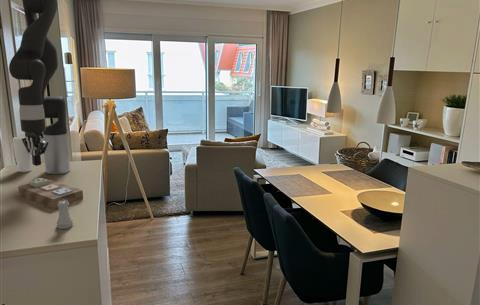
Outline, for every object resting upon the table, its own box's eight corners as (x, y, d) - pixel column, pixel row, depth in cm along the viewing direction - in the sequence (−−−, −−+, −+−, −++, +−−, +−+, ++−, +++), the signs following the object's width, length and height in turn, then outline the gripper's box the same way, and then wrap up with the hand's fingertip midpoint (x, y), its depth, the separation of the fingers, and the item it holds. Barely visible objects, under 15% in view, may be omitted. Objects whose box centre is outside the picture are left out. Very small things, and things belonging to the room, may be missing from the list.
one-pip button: (41, 193, 124) (40, 187, 123) (52, 190, 127) (52, 183, 127) (48, 196, 122) (47, 189, 121) (60, 192, 125) (59, 186, 125)
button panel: (19, 195, 125) (18, 186, 125) (48, 187, 135) (47, 179, 134) (53, 209, 115) (52, 199, 114) (83, 199, 124) (82, 190, 124)
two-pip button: (52, 197, 120) (52, 191, 120) (64, 194, 124) (63, 187, 123) (60, 200, 118) (59, 193, 118) (72, 197, 122) (71, 190, 121)
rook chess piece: (60, 223, 105) (58, 198, 104) (75, 223, 106) (73, 198, 104) (53, 229, 101) (51, 203, 99) (69, 229, 102) (67, 204, 100)
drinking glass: (25, 173, 150) (22, 139, 147) (12, 172, 151) (8, 138, 148) (37, 169, 157) (34, 136, 153) (24, 168, 158) (21, 135, 154)
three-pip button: (29, 186, 127) (29, 180, 126) (41, 183, 131) (40, 177, 130) (36, 189, 125) (35, 182, 124) (48, 186, 128) (47, 179, 128)
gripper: (54, 118, 122) (58, 165, 126) (32, 114, 128) (37, 160, 132) (32, 120, 115) (37, 170, 119) (11, 116, 122) (16, 164, 126)
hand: (37, 165), depth 126 cm, fingers closed
